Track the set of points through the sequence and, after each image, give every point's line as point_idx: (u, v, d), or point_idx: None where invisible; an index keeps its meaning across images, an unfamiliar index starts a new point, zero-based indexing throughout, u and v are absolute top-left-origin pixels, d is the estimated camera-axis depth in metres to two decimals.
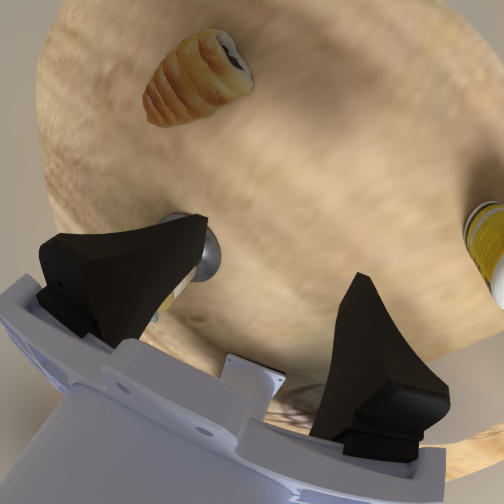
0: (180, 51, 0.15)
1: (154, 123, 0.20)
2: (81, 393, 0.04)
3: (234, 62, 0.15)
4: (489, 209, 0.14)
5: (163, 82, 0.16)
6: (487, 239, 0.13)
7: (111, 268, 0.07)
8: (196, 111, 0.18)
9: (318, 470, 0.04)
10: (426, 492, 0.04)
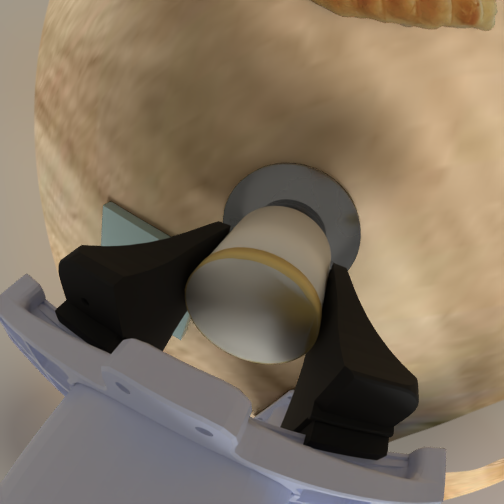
0: None
1: None
2: (80, 392, 0.04)
3: None
4: None
5: None
6: None
7: (142, 284, 0.07)
8: (433, 9, 0.05)
9: (318, 470, 0.04)
10: (426, 492, 0.04)
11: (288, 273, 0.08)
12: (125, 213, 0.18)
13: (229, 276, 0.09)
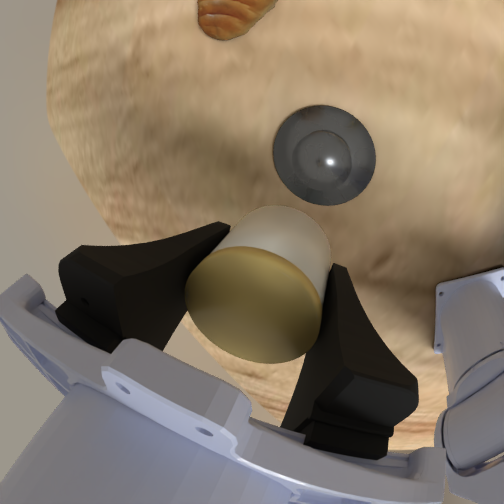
0: None
1: (229, 34, 0.15)
2: (81, 393, 0.04)
3: None
4: None
5: None
6: None
7: (142, 284, 0.07)
8: None
9: (318, 470, 0.04)
10: (426, 492, 0.04)
11: (288, 272, 0.08)
12: None
13: (229, 275, 0.09)
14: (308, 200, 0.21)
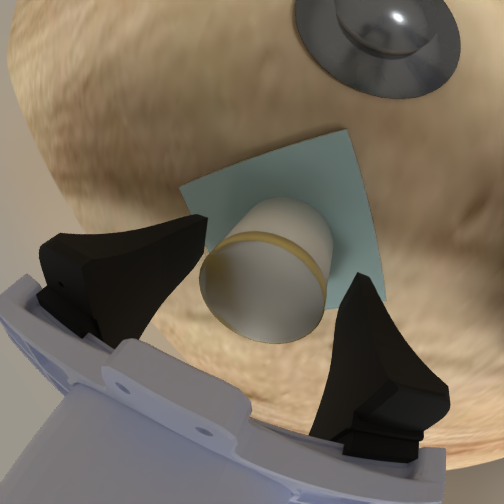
0: None
1: None
2: (81, 393, 0.04)
3: None
4: None
5: None
6: None
7: (111, 268, 0.07)
8: None
9: (318, 470, 0.04)
10: (426, 492, 0.04)
11: (297, 254, 0.09)
12: (210, 173, 0.14)
13: (243, 257, 0.09)
14: (360, 88, 0.09)
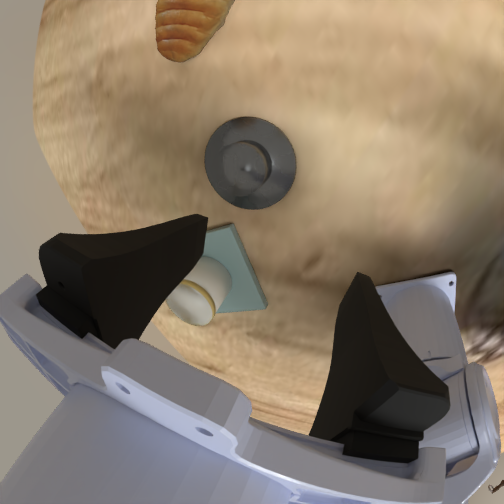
0: None
1: (183, 56, 0.17)
2: (81, 393, 0.04)
3: None
4: None
5: (167, 14, 0.14)
6: None
7: (111, 268, 0.07)
8: (211, 8, 0.13)
9: (318, 470, 0.04)
10: (426, 492, 0.04)
11: (198, 290, 0.22)
12: None
13: (180, 289, 0.23)
14: (236, 205, 0.23)
